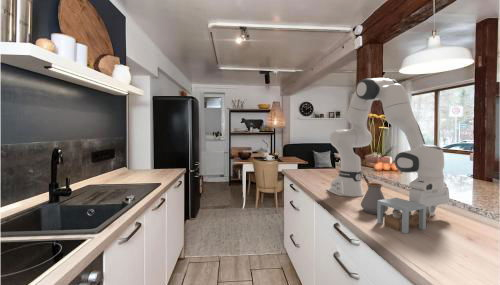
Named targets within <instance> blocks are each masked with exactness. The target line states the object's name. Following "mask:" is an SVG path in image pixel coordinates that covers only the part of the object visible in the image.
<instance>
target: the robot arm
mask: <svg viewBox="0 0 500 285" xmlns="http://www.w3.org/2000/svg"><path fill="white" fill-rule="evenodd" d="M374 101H380V103H381V104H382V110H383V115H384V118H385V120H386V122H387V123H388V124H390V126H392V127H395V128H397V129H398V130H400V131H401V132H402V133H403V134H404V135H405V136H406V139H407V143H408V145H409V149H410V150H409V149H408V150H405V151H402V152H399V153H397V154H396V155H395V157H394V166H395V167H396V169H397V170H398V171H400V172H401V173H405V174H407V173H408V174H410V173H417V177H416V178H415V179H414V180H412V181H410V182H409V184H408V185H409V188H410V190H409V193H408V194H409V199H408V201H412V202H415V203H419V204H423V205H426V213H428V214H429V217H432V216H433V217H434V216H435V212H436V210H437V206H440V205H446V204H449V202H450V190H449V187H448V185H447V183H446V182H445V176H444V172H443V171H444V169H445V155H444V151H443V149H442V148H441V147H440V146H438V145H435V144H428V143H426V141H425V138H424V135H423V134H422V130H421V128H420V124H419V123H418V120H416V117H415V115H414V112H413V109H412V108H413V107H412V106H411V102H410V98H409V96H408V94H407V91H406V89H405V87H404V86H403V84H400V83H399V82H398V81H397V80H396V79H393V78H385V77H373V78H364V79H361V80H360V81H358V83H357V85H356V87H355V91H354V93H353V95H352V97H351V100H350V103H349V106H348V109H347V110H348V111H347V113H346V120H347V122H348V123H349V124H351V128H348V129H347V128H346V129H345V128H343V129H342V128H341V129H337V130H332V132H331V134H330V135H329V142H330V144H331V145H332V147H334V148H335V149H336V151H337V153H338V155H339V159H340V170H338V171H337V173H338V176H336V177H335V178H333V179H332V180H331V181H330V186H329V187H327V188H326V191H328V192H330V193H332V194H335V195H337V196H340V197H353V198H355V197H364V196H365V194H364V190H363V185H362V184H363V183H362V176H363V174H362V168H361V166H362V163H361V162H362V159H361V157H360V156H359V155H358V154H356V153H355V152H354V148H364V147H367V146H370V145H371V143H372V141H373V135H372V132H370V131H369V129H368V124H367V123H368V118H369V115H370V112H371V108H372V105H373V103H374Z"/></svg>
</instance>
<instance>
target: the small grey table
mask: <svg viewBox="0 0 500 285" xmlns="http://www.w3.org/2000/svg"><path fill="white" fill-rule="evenodd" d="M383 205H384V206H388V208H392V209H393V210H398V211H401V212H402V230H401V233H403V234H405V235H407V234H409V230H410V228H409V212H410V211H411V212H414V211H419V212H418V213H419V224H418V229H419V230H422V231H424V230H427V229H426V228H427V227H426V226H427V225H426V224H427V222H426V205H423V204H419V203H415V202H412V201H409V199H408V200H407V199H404V198H401V197H400V198H399V197H391V198H385V199H384V200H377V214H376V215H377V217H376V220H377V221H376V222H377V224H380V225H383V224H384V213H383Z"/></svg>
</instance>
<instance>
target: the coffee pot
mask: <svg viewBox="0 0 500 285" xmlns="http://www.w3.org/2000/svg"><path fill="white" fill-rule="evenodd" d="M362 176H363V177H361V179H362V178H363V179H364V181H365V182H366V185H367V190H366V192H365V194H364V195H363V198H362V200H361V203H360V206H361V208H362V209H363V210H364V211H365V212H366V213H368V214H372V215H377V200H384V199H386V198H385V197H384V194H383V192H382V190H381V189H382V187H383V184H382V183H375V182H370V180H368V178H367V176H366V174H362ZM388 210H389V207H388V206H384V205H383V214H385V212H387V211H388Z"/></svg>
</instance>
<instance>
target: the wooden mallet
mask: <svg viewBox="0 0 500 285" xmlns="http://www.w3.org/2000/svg"><path fill="white" fill-rule="evenodd" d="M428 222H430V216H429V214H428V213H426V223H428ZM383 224H384V225H383V226H384V227H387V228H389V227H390V229H393V230H395V231H398V232H400V230H401V231H402V211H401V210H400V211H398V210H394V209H392V213H391V214H385V215H383ZM417 224H418V225H419V212H418V213H414V214H412V211H410V212H409V229H413V227H414V228H416V227H417Z"/></svg>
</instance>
